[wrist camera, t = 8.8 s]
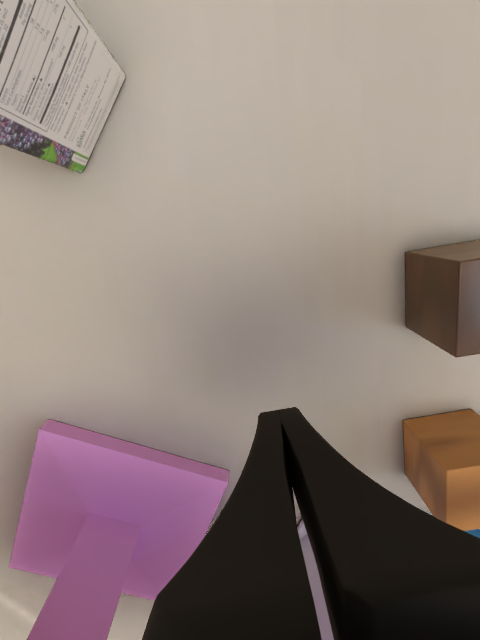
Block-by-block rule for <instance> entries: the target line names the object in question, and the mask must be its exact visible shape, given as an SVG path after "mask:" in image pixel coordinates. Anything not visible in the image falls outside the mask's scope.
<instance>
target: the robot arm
mask: <svg viewBox="0 0 480 640" xmlns="http://www.w3.org/2000/svg"><path fill="white" fill-rule="evenodd" d="M292 487H293V489H292ZM293 490H294V494H295V497H296V500H297V503H298V506H299V509H300V513H301V516H302V521H301V523H300V525H299V526H298V528H297V524H296V515H295V506H294V498H293ZM142 640H480V538H478V537H476V536H474V535H471V534H469V533H467V532H465V531H463V530H461V529H458V528H456V527H454V526H452V525H450V524H447V523H445V522H443V521H441V520H439V519H437V518H435V517H433V516H432V515H430V514H428V513H426V512H424V511H422V510H420V509H418V508H416V507H415V506H413V505H411V504H409V503H408V502H406V501H404V500H403V499H401V498H400V497H398V496H396V495H395V494H393V493H391V492H390V491H388V490H387V489H385V488H383V487H382V486H381V485H379V484H378V483H376V482H375V481H373V480H372V479H370V478H369V477H368V476H366V475H365V474H364V473H362V472H361V471H360V470H358V469H357V468H356V467H355V466H353V465H352V464H351V463H350V462H349V461H347V460H346V459H345V458H344V457H343V456H342V455H340V454H339V453H338V452H337V451H336V450H335V449H334V448H333V447H332V446H331V445H330V444H329V443H328V442H327V441H326V440H325V439H324V438H323V437H322V436H321V435H320V434H319V433H318V432H317V431H316V430H315V429H314V428H313V427H312V426H311V424H310V423H309V422H308V421H307V420H306V419H305V417H304V416H303V415H302V413H301V412H300V411H299V409H297V408H296V407H292V408H287V409H281V410H275V411H269V412H263V413H260V415H259V416H258V425H257V430H256V434H255V437H254V441H253V444H252V447H251V450H250V453H249V456H248V459H247V461H246V464H245V466H244V469H243V471H242V473H241V476H240V478H239V480H238V482H237V484H236V486H235V488H234V490H233V492H232V494H231V496H230V498H229V500H228V501H227V503H226V505H225V507H224V508H223V510H222V512H221V513H220V515H219V517H218V518H217V520H216V521H215V523H214V524H213V526H212V527H211V529H210V530H209V532H208V533H207V534H206V536H205V537H204V539H203V540H202V541H201V543H200V544H199V545H198V547H197V548H196V550H195V551H194V552H193V554H192V555H191V556H190V558H189V559H188V560H187V561H186V563H185V564H184V565H183V566H182V567H181V568H180V570H179V571H178V572H177V573H176V574H175V575H174V577H173V578H172V579H171V580H170V581H169V582H168V584H167V585H166V586H165V587H164V588H163V589H162V590H161V591H160V593H159V594H158V595H157V597H156V599H155V602H154V605H153V608H152V610H151V613H150V616H149V619H148V623H147V626H146V629H145V632H144V635H143V638H142Z"/></svg>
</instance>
